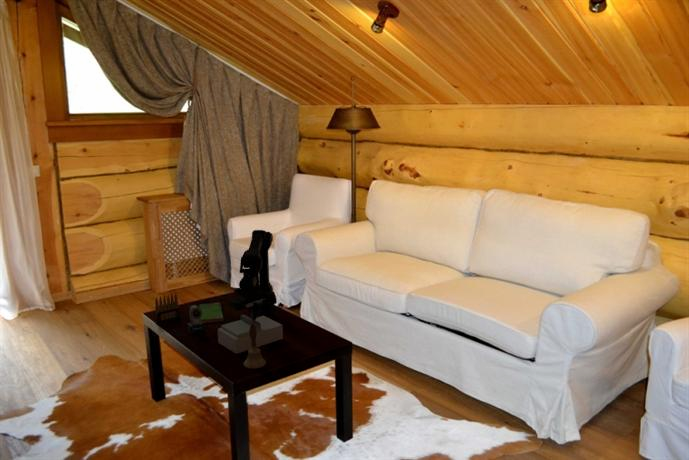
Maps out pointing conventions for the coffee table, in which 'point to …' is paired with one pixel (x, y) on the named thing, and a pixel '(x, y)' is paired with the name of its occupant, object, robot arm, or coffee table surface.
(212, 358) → the coffee table surface
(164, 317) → the ammunition clip
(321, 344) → the coffee table surface
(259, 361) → the hand bell
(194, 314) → the watch
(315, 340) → the coffee table surface
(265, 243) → the robot arm
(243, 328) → the lid
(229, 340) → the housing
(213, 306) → the game box
